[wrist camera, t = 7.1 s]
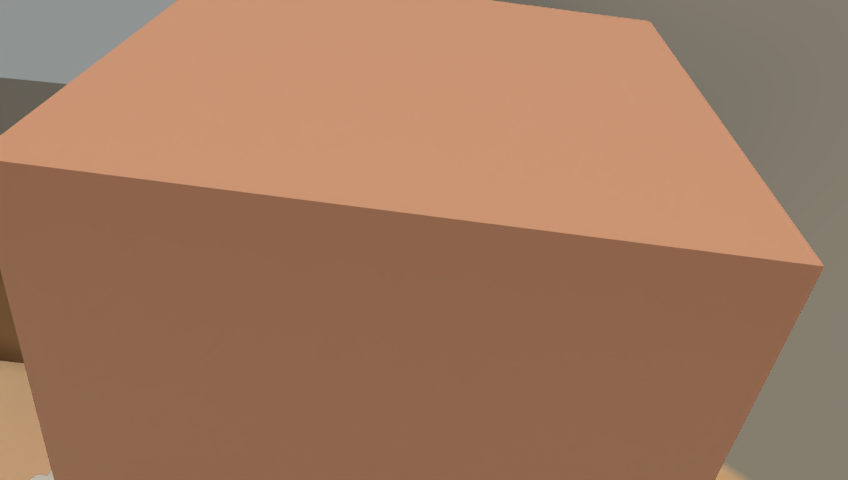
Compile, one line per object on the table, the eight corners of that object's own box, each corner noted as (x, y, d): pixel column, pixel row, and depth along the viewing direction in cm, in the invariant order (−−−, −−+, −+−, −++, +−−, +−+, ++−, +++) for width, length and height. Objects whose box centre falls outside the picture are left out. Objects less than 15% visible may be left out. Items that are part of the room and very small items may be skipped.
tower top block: (-205, 212, 22) (-275, 50, 19) (-32, 87, 30) (-64, -37, 27) (133, 240, 22) (113, 88, 20) (210, 111, 31) (203, -9, 28)
